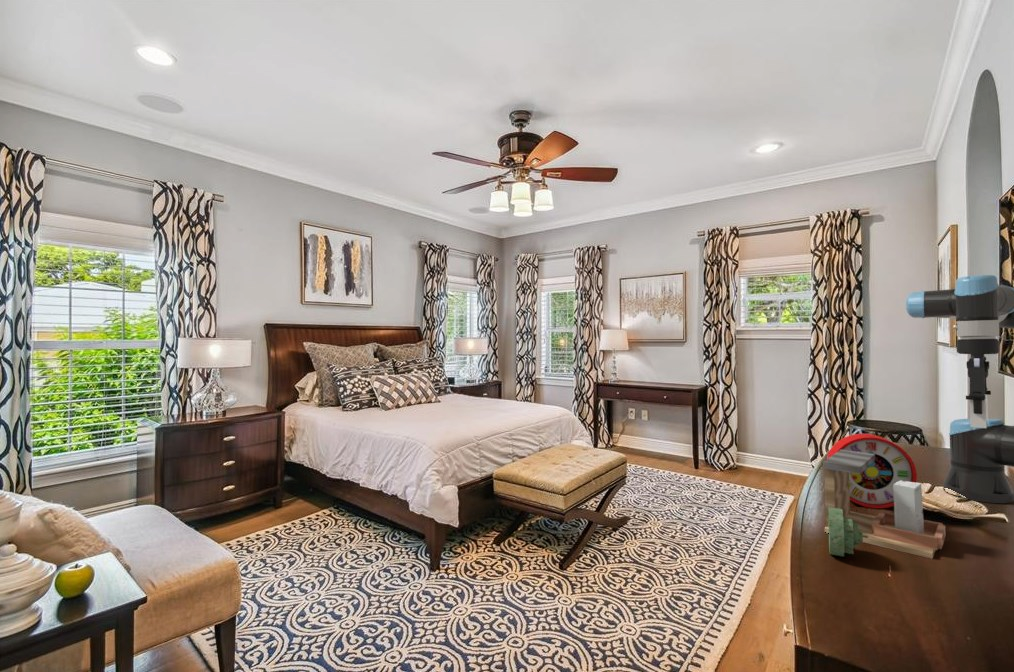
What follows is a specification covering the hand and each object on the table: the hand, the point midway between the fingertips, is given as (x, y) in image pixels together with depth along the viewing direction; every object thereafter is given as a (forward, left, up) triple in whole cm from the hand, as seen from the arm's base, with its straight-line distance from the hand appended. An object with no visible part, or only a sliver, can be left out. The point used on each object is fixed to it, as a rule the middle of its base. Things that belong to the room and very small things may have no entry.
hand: (979, 423), depth 117 cm
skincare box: (+19, -12, -26) cm, 34 cm away
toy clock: (-4, -23, -27) cm, 36 cm away
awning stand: (+19, -16, -27) cm, 37 cm away
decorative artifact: (+39, -20, -27) cm, 51 cm away
